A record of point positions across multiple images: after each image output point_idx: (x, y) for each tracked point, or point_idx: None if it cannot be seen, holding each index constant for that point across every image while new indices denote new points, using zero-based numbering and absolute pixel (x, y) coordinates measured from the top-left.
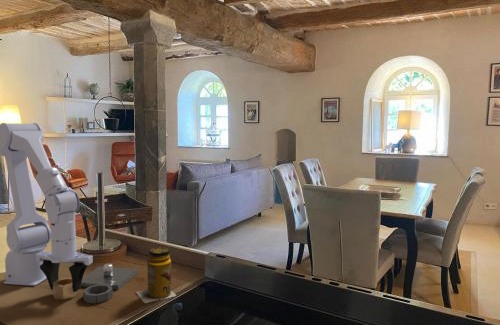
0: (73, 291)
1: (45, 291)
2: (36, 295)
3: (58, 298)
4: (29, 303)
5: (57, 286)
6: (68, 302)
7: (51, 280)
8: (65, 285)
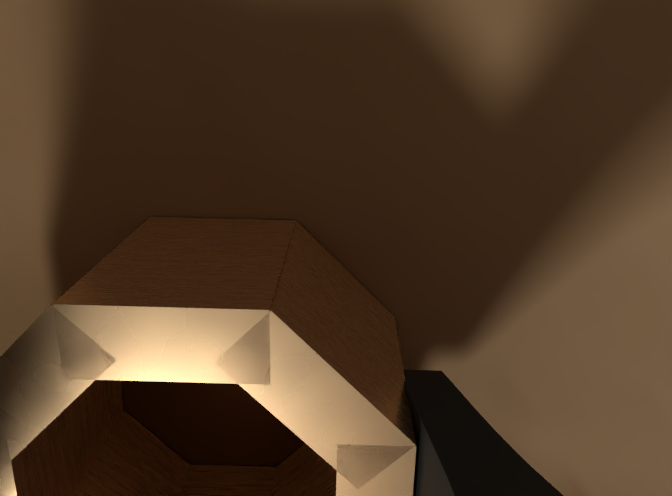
0: None
1: (589, 426)
2: (658, 294)
3: (229, 221)
4: (624, 11)
5: (189, 305)
6: (9, 143)
7: (436, 475)
8: (46, 372)
